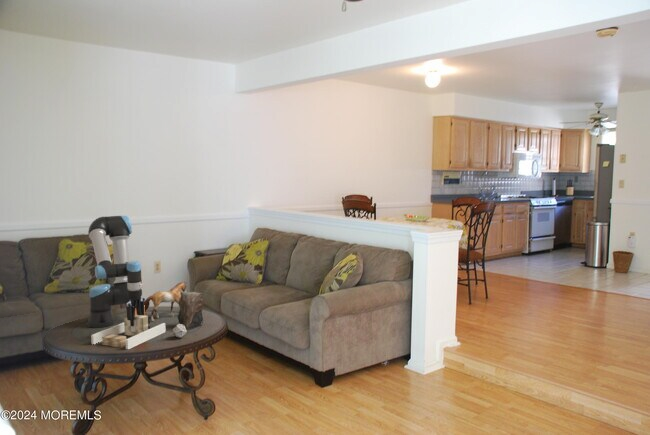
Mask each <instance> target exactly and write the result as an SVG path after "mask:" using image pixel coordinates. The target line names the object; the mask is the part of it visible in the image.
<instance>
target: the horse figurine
mask: <svg viewBox="0 0 650 435" xmlns="http://www.w3.org/2000/svg"><path fill="white" fill-rule="evenodd" d="M186 288H187V282H186V281H184V282H183V281H182V282H181V281H180V282H179V283H177V284H176V285H175V286H174V287H172V288H170V289H169V290H168V291H160V290H159V291H156V292H155V293H154V294H152V295H149V296H148V297H147V298H146V299H145V301H144V305H145V313H146V312H147V310H148V309H149V307H150V301H152V303H153V307H152V310H151V316H150V320H151V321H152V322H155V319H154V314H155V317H156V319H159V317H160V316H159V312H158V311H157V309H158V307H159V305H160V304H162V303H170V304H171V305H170V313H169V314H171V317H175V314H174V313H173V308H174V303H176V304H177V305H179V299H180V297H181V292H187V290H186Z"/></svg>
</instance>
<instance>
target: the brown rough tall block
mask: <svg viewBox="0 0 650 435" xmlns="http://www.w3.org/2000/svg"><path fill="white" fill-rule="evenodd" d="M180 296H181V297H180V299H179V304H178V307H179V311H178V314H177V320H178V322H179V324H183V325H184V324H185V327H186V330H187V331H189V330H192V329H195V328H198V327H201V326H202V322H203V321H204V317H203V312H202V311H203V309H204V300H203V292H198V291H189V292H187V291H186V292H183V291H181V292H180Z"/></svg>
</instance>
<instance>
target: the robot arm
mask: <svg viewBox="0 0 650 435" xmlns="http://www.w3.org/2000/svg"><path fill="white" fill-rule="evenodd" d="M87 232H88V238H89V239H90V241H91V242H92V246H93V250H94V251H93V252H94V255H95V261H96V265H95V267H94V274H95V278H96V279H97V280H106V279H112V278H113V279H114V278H115V280H114V282H113V284H112V285H111V284H109V283H104V284H103V283H102V284H98V285H95V286H92V287H91V288H90V289H89V293H88V294H89V296H88V297H89V311H90V313H89V315H88V320H87V326H88V327H89V328H104V327H105V328H106V327H110V326H114V324H115V323H116V319H115V317H114V314H113V311H112V306H119V305H120V306H121V305H125V307H126V315H127V320H130V326H131V332H136V320H134V319H135V315H144V316H145V313H144V302H145V300H146V299H145V298H144V297H142V296H143V290H142V288H143V286H142V265H141V262H140V261H138V260H133V261H130V259H129V247H128V246H129V244H128V239H129V238H130V235H131V234H132V233H133V228H132V222H131V219H130V218H129V217H128V216H127V215H112V216H111V215H110V216H108V215H107V216H100V217H97V218H96V219H94V220H93V221H92V222H91V224H90V225H89V228H88V231H87ZM106 237H108V238H109V240H110V241H111V242H112V252H113V255H112V256H113V263H112V259H111V255H110V250H109V246H108V243H107V240H106V239H107V238H106Z"/></svg>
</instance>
